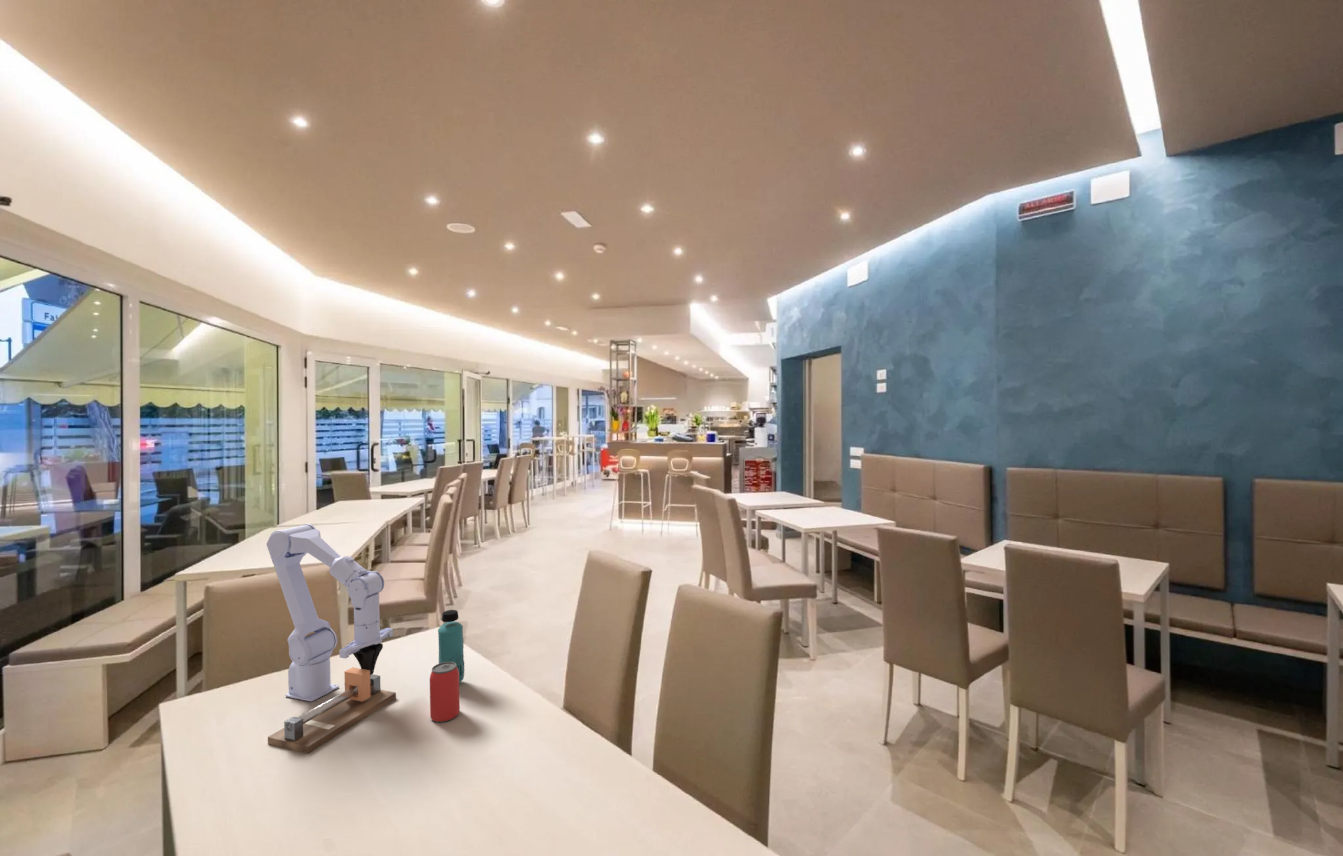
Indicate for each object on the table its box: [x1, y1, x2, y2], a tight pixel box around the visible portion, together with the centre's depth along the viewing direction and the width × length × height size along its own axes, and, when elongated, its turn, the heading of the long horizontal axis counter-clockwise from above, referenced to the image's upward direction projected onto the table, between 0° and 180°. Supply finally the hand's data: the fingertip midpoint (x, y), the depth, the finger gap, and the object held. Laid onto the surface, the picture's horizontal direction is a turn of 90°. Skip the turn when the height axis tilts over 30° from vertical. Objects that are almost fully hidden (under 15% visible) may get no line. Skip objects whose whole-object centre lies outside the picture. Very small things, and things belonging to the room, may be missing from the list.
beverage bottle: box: [437, 609, 466, 683], centre depth 147 cm, size 6×7×20 cm
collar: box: [344, 667, 371, 702], centre depth 136 cm, size 6×2×7 cm, turn 72°
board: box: [267, 689, 397, 754], centre depth 131 cm, size 12×24×2 cm, turn 162°
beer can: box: [429, 662, 461, 723], centre depth 132 cm, size 7×7×12 cm
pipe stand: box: [283, 673, 382, 742], centre depth 131 cm, size 3×23×4 cm, turn 162°
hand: (368, 674), depth 139 cm, fingers closed
